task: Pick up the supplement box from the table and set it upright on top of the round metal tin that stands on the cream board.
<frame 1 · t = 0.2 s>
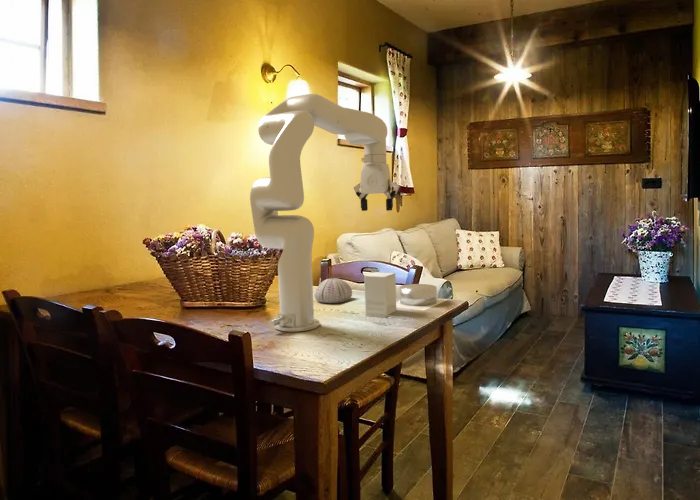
hand: (376, 210, 185), 31 cm above the table, fingers open, 9 cm apart
base board: (416, 305, 174), on the table
round metal tin: (418, 302, 175), resting on base board
supplement box: (381, 315, 163), on the table
sea urchin shell: (333, 301, 187), on the table
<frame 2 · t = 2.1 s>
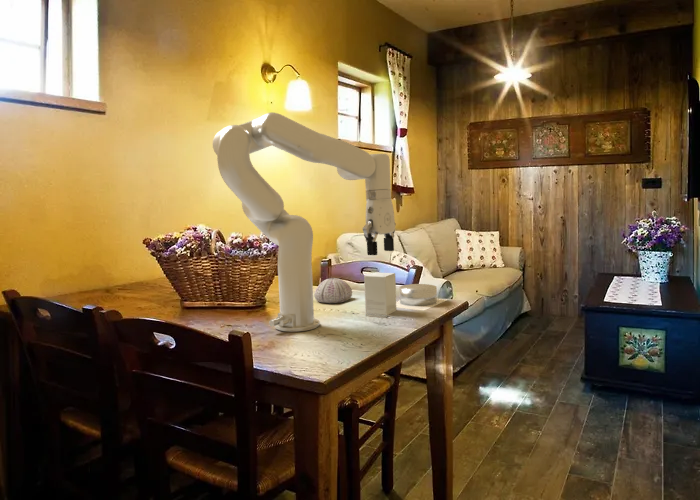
hand: (380, 252, 161), 19 cm above the table, fingers open, 9 cm apart
nothing on the table moved.
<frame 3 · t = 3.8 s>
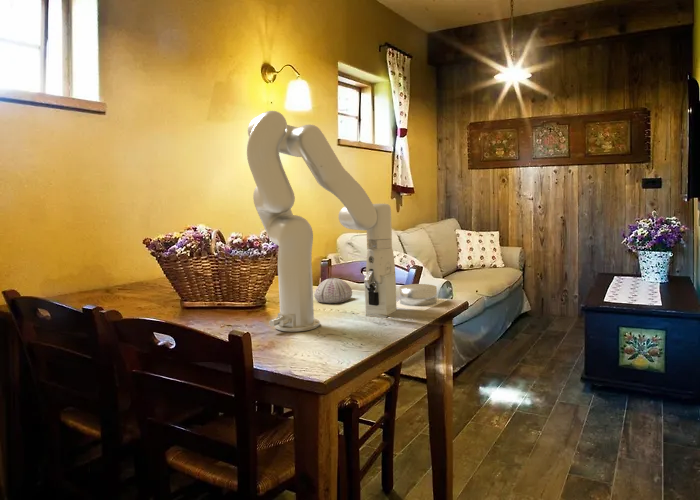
hand: (380, 302, 163), 4 cm above the table, fingers closed on supplement box, 7 cm apart
supplement box: (381, 315, 163), on the table, touching gripper
everything else where it was.
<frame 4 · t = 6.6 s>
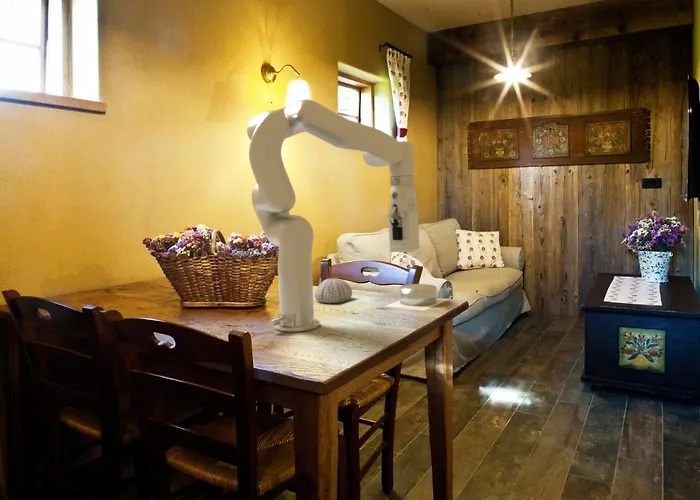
hand: (404, 238, 168), 23 cm above the table, fingers closed on supplement box, 7 cm apart
supplement box: (404, 251, 169), point 18 cm above the table, touching gripper
everything else where it was.
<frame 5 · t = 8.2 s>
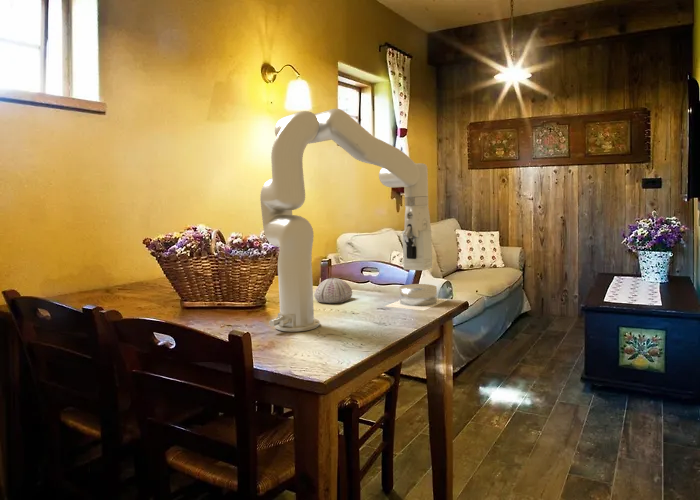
hand: (417, 256, 173), 16 cm above the table, fingers closed on supplement box, 7 cm apart
supplement box: (417, 269, 174), point 12 cm above the table, touching gripper
everything else where it was.
when the fingers open (11 cm above the table, at t = 9.6 s): supplement box drops 1 cm, resting on round metal tin.
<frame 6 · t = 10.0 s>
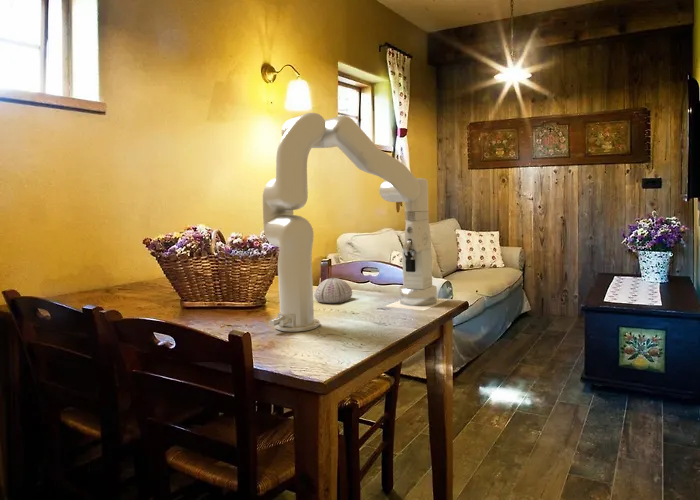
hand: (417, 269, 174), 12 cm above the table, fingers open, 9 cm apart
supplement box: (417, 287, 174), point 6 cm above the table, touching round metal tin
everything else where it was.
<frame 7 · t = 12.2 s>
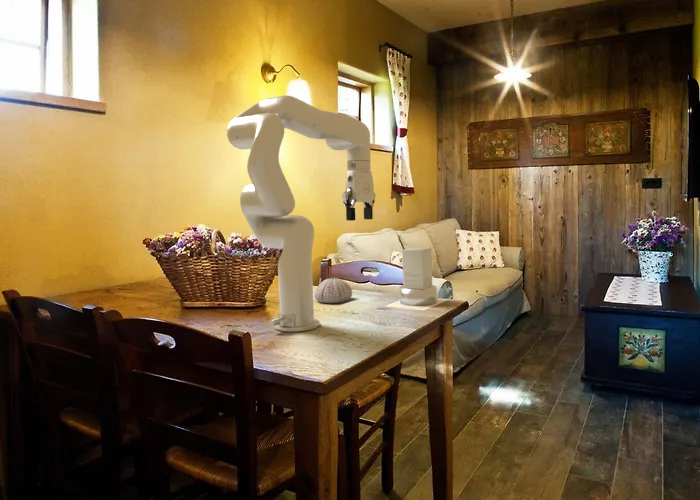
hand: (359, 219, 175), 28 cm above the table, fingers open, 9 cm apart
nothing on the table moved.
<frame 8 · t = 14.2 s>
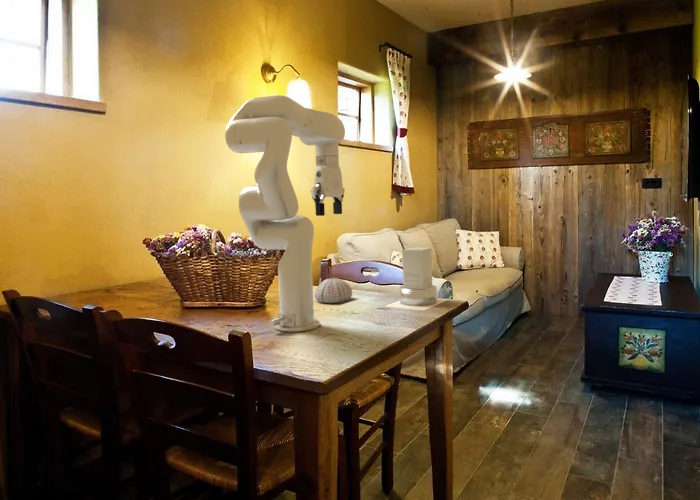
hand: (329, 214, 176), 30 cm above the table, fingers open, 9 cm apart
nothing on the table moved.
at the end: supplement box inside the target area on the round metal tin (0.1 cm from its centre), point 4.8 cm above the round metal tin's base; supplement box tilted 0°; the gripper is holding nothing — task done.
